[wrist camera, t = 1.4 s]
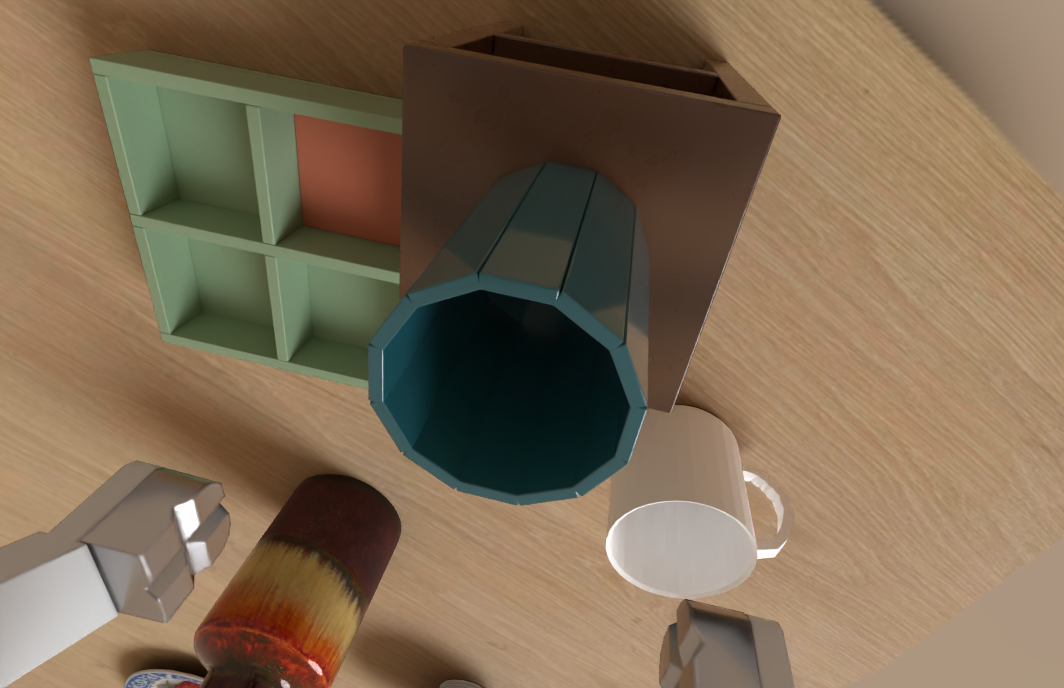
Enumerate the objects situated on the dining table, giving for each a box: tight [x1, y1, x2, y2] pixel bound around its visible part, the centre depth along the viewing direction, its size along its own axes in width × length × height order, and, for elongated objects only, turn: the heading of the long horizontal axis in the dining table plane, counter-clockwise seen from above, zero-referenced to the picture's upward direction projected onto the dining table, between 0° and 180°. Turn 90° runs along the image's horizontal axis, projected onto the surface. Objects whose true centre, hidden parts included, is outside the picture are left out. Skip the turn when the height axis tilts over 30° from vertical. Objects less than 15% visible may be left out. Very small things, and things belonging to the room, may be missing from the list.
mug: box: [606, 405, 794, 599], centre depth 39 cm, size 12×9×9 cm
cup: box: [368, 161, 650, 506], centre depth 17 cm, size 7×7×9 cm
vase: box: [194, 475, 401, 688], centre depth 45 cm, size 11×11×20 cm
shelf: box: [399, 22, 781, 413], centre depth 27 cm, size 12×12×14 cm
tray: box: [89, 50, 403, 390], centre depth 36 cm, size 18×18×4 cm
